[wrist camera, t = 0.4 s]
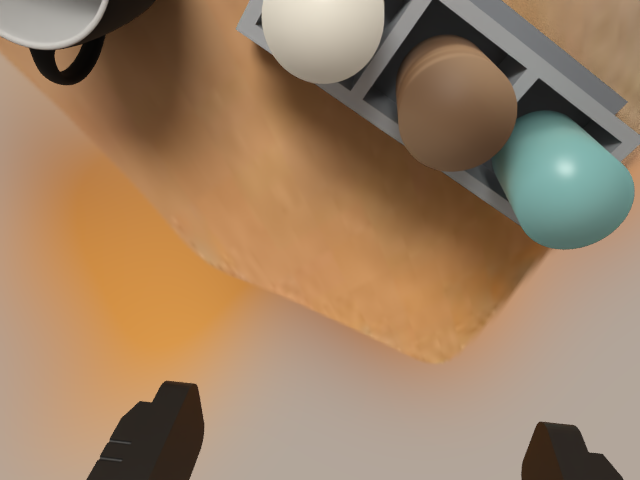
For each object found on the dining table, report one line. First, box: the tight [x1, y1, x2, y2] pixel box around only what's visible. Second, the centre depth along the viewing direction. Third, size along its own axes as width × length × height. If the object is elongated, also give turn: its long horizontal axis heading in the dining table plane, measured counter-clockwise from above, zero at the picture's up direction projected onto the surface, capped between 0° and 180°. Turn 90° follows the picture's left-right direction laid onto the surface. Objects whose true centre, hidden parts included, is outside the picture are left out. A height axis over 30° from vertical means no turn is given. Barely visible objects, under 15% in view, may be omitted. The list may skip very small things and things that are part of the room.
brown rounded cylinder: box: [395, 35, 517, 172], centre depth 24 cm, size 5×5×6 cm
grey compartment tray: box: [236, 0, 640, 226], centre depth 29 cm, size 10×22×6 cm, turn 57°
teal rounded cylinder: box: [492, 110, 634, 249], centre depth 25 cm, size 5×5×6 cm
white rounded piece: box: [262, 0, 384, 84], centre depth 22 cm, size 5×5×6 cm
